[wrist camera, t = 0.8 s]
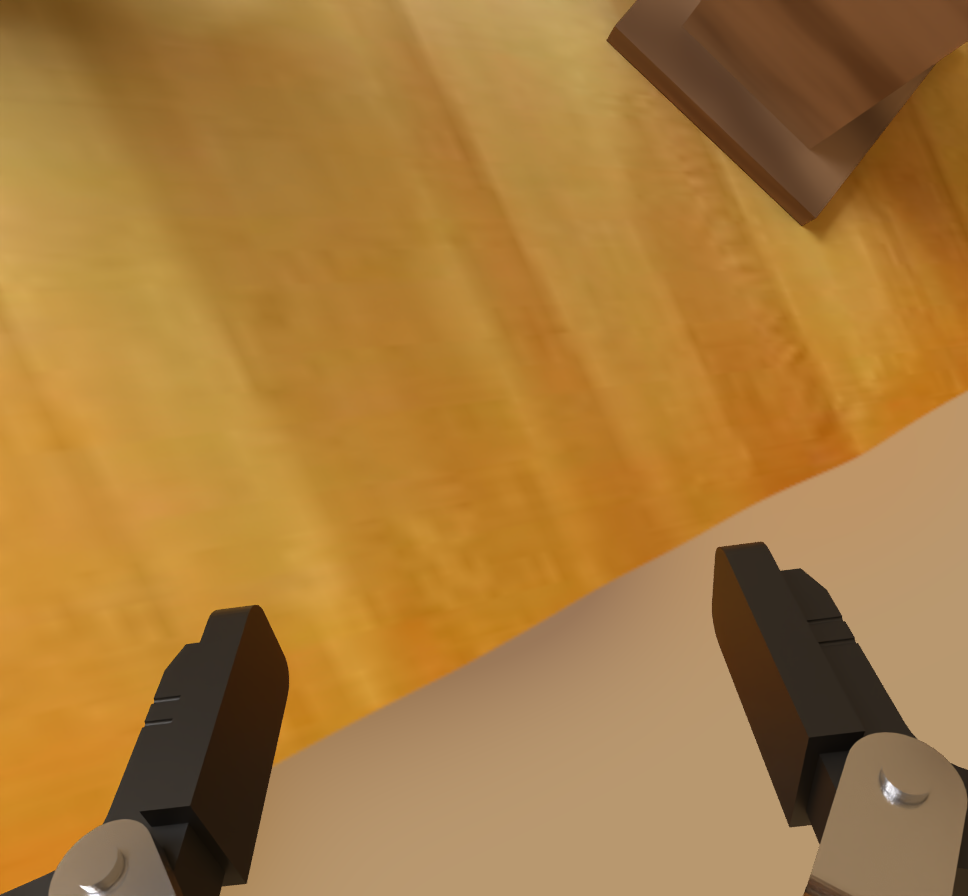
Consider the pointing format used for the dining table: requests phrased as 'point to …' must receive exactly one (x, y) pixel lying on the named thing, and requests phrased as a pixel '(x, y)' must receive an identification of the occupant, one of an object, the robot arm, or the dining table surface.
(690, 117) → the shelf stand
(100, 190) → the dining table surface
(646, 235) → the dining table surface
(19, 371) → the dining table surface
